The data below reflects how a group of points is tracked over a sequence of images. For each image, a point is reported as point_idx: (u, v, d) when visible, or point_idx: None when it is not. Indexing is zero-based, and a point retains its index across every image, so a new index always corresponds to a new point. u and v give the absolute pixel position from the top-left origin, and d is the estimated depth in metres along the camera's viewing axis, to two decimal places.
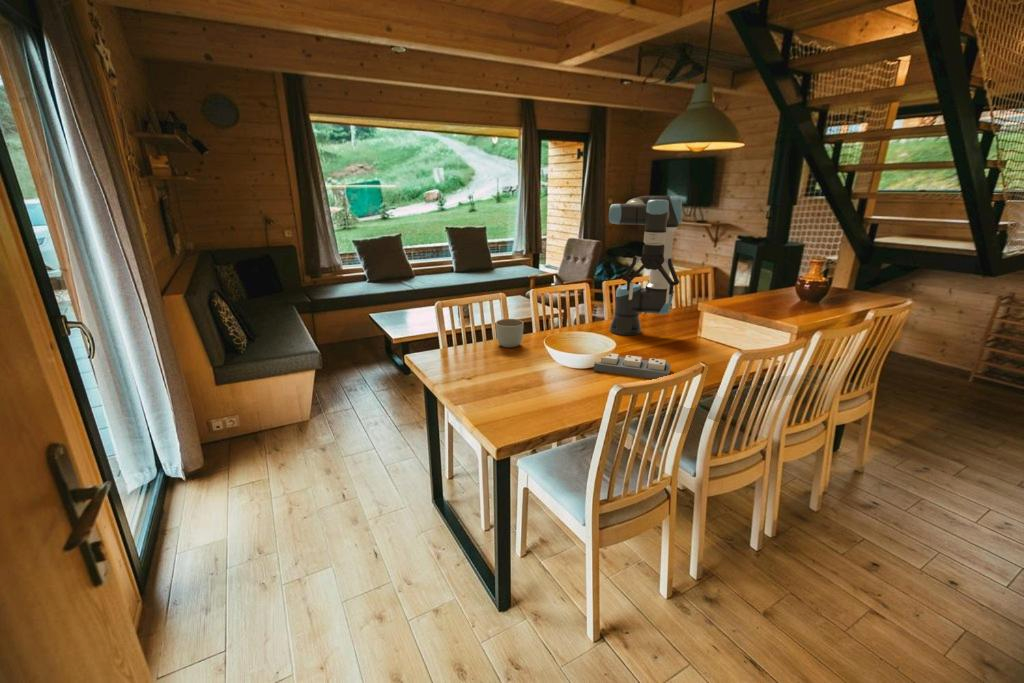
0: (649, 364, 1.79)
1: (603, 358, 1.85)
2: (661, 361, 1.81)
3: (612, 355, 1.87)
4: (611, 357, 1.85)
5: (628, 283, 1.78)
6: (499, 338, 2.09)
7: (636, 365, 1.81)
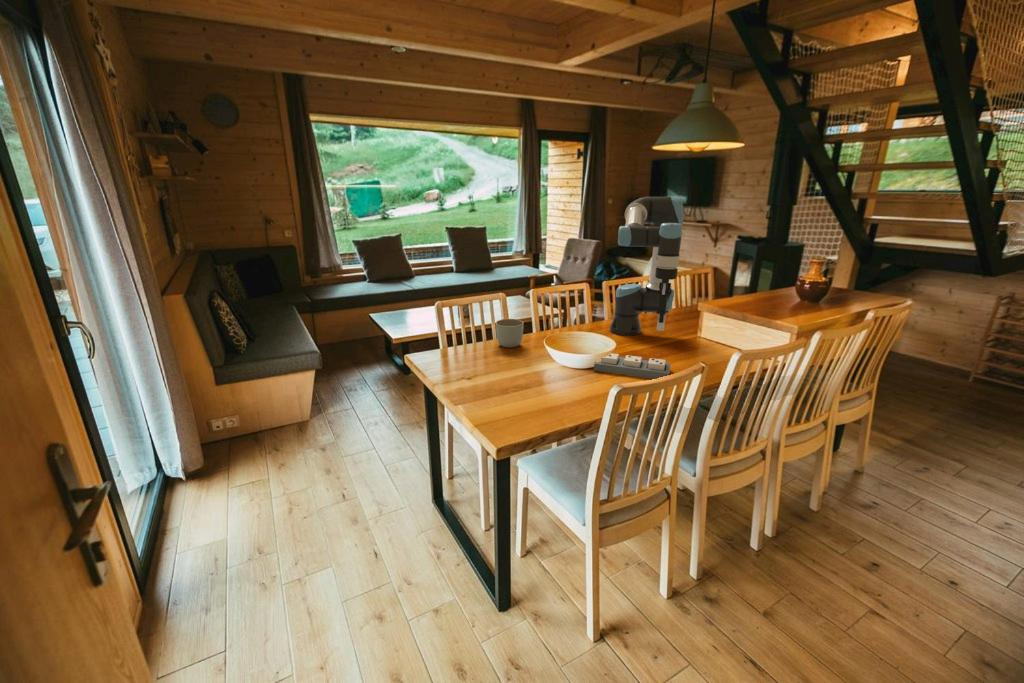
0: (649, 364, 1.79)
1: (603, 358, 1.85)
2: (661, 361, 1.81)
3: (612, 355, 1.87)
4: (611, 357, 1.85)
5: None
6: (499, 338, 2.09)
7: (636, 365, 1.81)
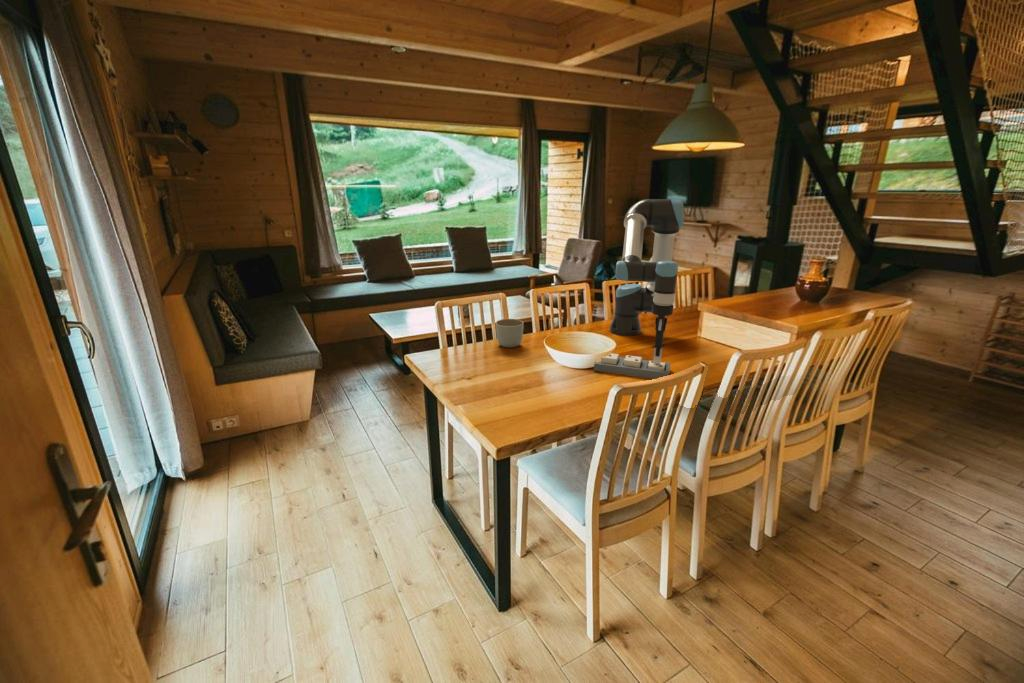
0: (649, 367, 1.80)
1: (603, 358, 1.85)
2: (661, 364, 1.81)
3: (612, 355, 1.87)
4: (611, 357, 1.85)
5: None
6: (499, 338, 2.09)
7: (636, 365, 1.81)
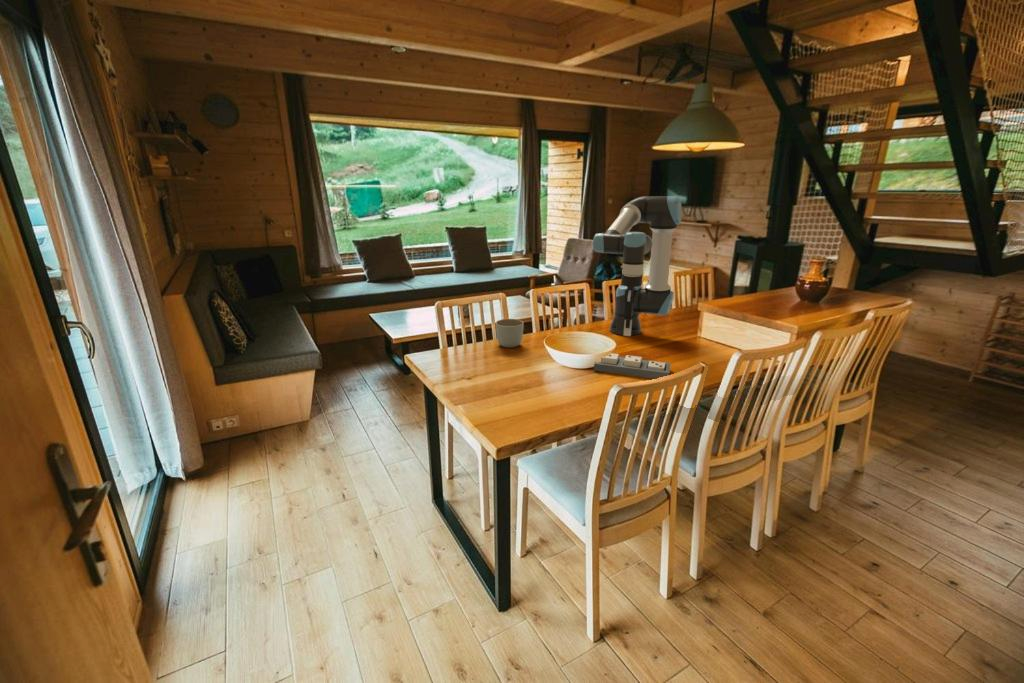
0: (649, 367, 1.80)
1: (603, 358, 1.85)
2: (661, 364, 1.81)
3: (612, 355, 1.87)
4: (611, 357, 1.85)
5: None
6: (499, 338, 2.09)
7: (636, 365, 1.81)
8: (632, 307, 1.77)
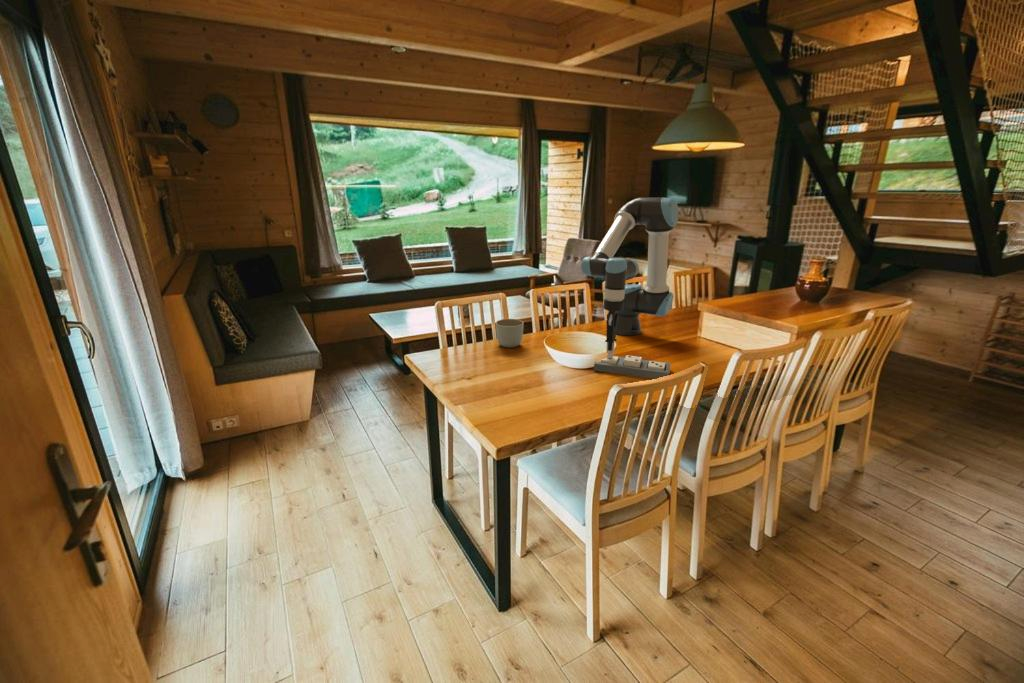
0: (649, 367, 1.80)
1: (603, 360, 1.86)
2: (661, 364, 1.81)
3: None
4: (611, 359, 1.85)
5: None
6: (499, 338, 2.09)
7: (636, 365, 1.81)
8: (614, 330, 1.82)
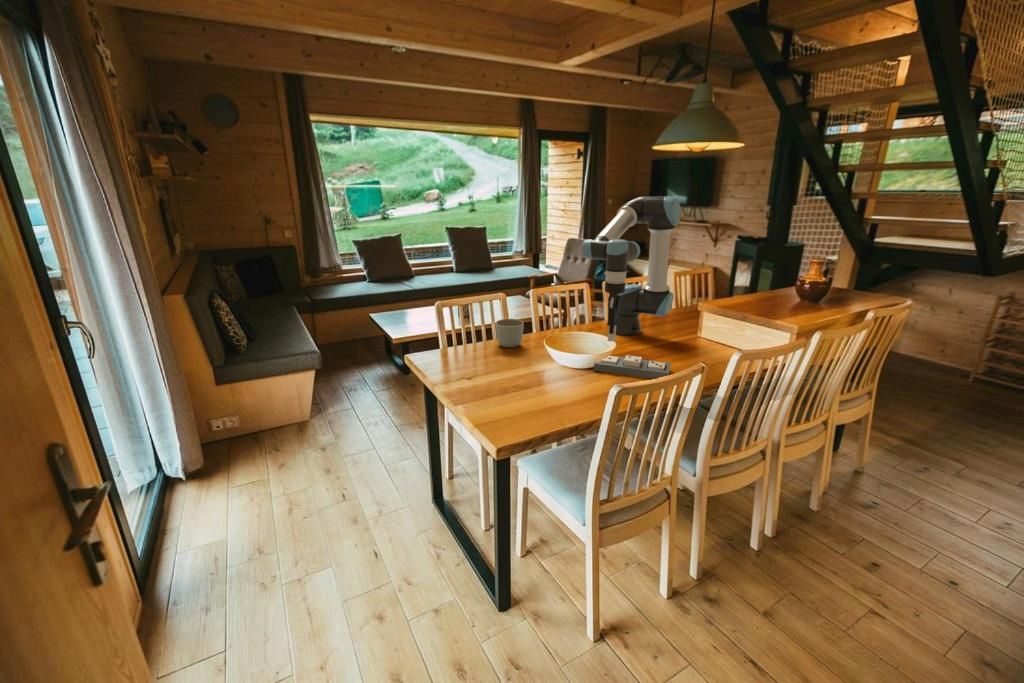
0: (649, 367, 1.80)
1: (603, 361, 1.86)
2: (661, 364, 1.81)
3: (612, 358, 1.88)
4: (611, 360, 1.85)
5: None
6: (499, 338, 2.09)
7: (636, 365, 1.81)
8: (616, 313, 1.80)
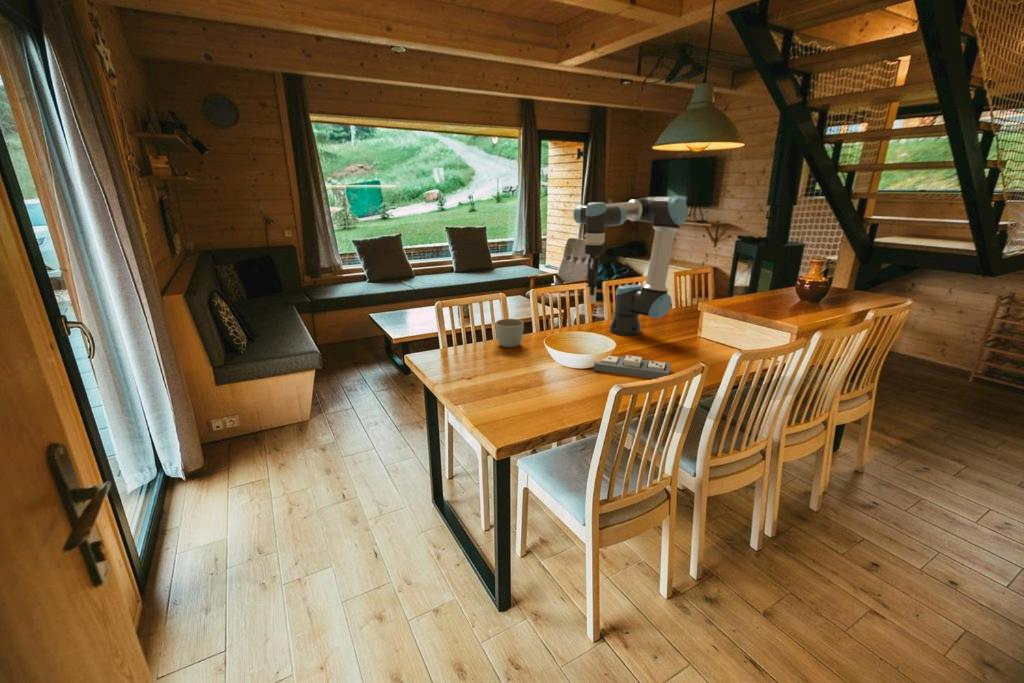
0: (649, 367, 1.80)
1: (603, 361, 1.86)
2: (661, 364, 1.81)
3: (612, 358, 1.88)
4: (611, 360, 1.85)
5: None
6: (499, 338, 2.09)
7: (636, 365, 1.81)
8: (595, 275, 1.87)
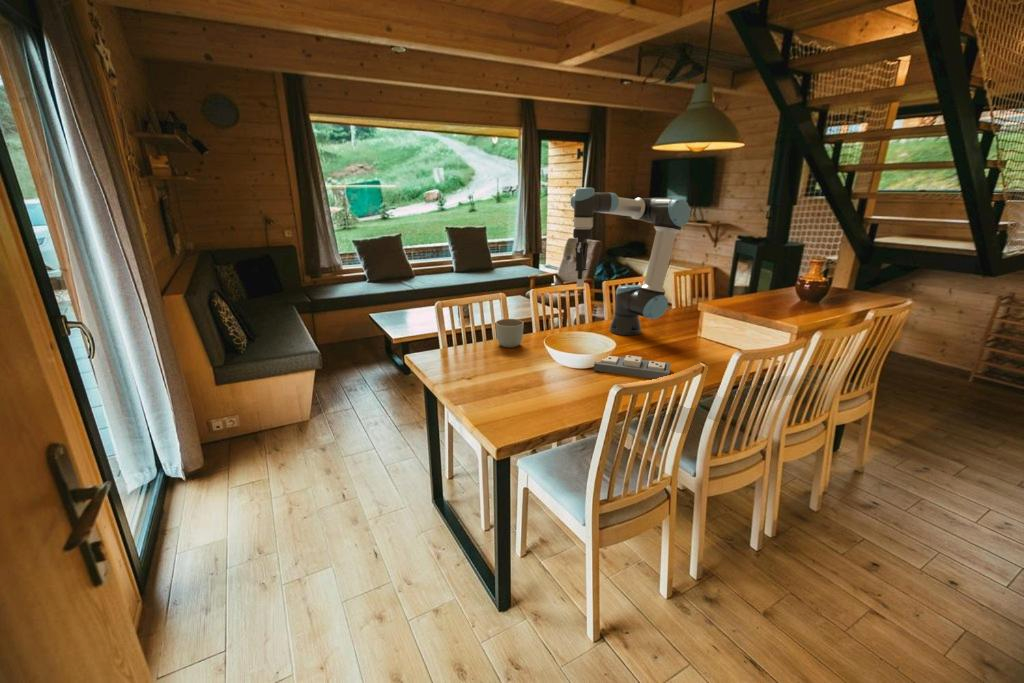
0: (649, 367, 1.80)
1: (603, 361, 1.86)
2: (661, 364, 1.81)
3: (612, 358, 1.88)
4: (611, 360, 1.85)
5: None
6: (499, 338, 2.09)
7: (636, 365, 1.81)
8: (583, 259, 1.90)
